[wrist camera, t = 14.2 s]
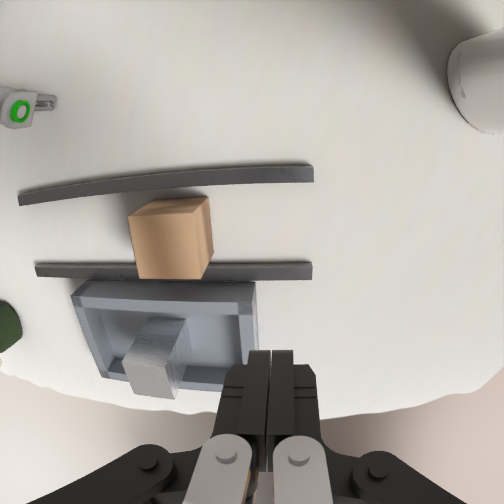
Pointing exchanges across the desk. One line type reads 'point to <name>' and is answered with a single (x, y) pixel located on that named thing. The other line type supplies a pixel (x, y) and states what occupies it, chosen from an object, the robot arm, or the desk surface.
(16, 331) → the character mug
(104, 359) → the tray
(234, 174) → the slide rails
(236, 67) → the desk surface
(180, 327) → the stop block
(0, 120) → the mechanical component
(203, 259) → the slider
